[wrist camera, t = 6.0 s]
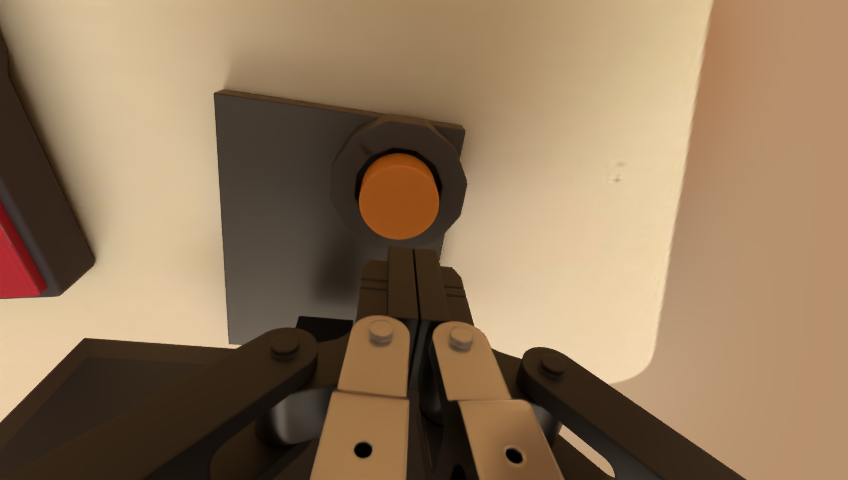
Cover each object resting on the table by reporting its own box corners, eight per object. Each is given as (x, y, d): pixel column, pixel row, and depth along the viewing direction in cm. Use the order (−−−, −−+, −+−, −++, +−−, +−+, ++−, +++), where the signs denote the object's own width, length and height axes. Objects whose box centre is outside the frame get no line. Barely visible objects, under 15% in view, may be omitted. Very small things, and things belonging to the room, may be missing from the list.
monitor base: (222, 83, 20) (196, 92, 17) (467, 121, 22) (478, 134, 19) (234, 331, 27) (217, 365, 24) (422, 346, 28) (425, 379, 26)
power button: (365, 147, 19) (362, 159, 18) (441, 158, 20) (445, 171, 18) (358, 217, 21) (355, 235, 19) (428, 225, 21) (432, 244, 20)
